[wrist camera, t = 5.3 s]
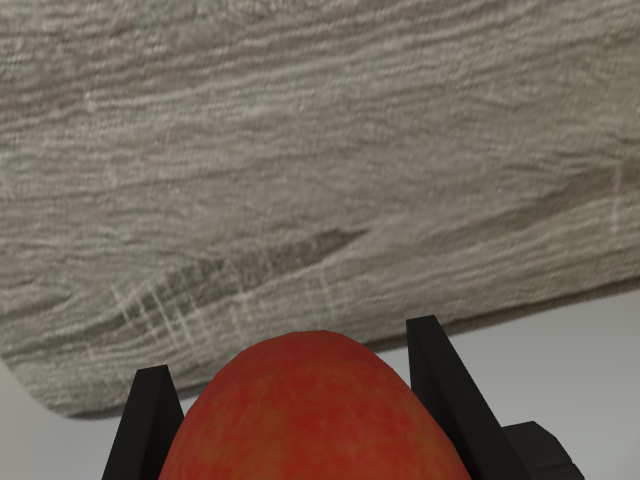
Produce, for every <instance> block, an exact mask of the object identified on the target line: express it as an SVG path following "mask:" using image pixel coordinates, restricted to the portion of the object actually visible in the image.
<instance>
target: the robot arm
mask: <svg viewBox="0 0 640 480" xmlns="http://www.w3.org/2000/svg"><path fill="white" fill-rule="evenodd" d="M406 328H407V341H408V354H409V366H410V380H411V390H412V391H413V393H414V394H415V395H416V397H417V398H418V399H419V400H420V402H421V403H422V404H423V406H424V407H425V408H426V409H427V411H428V412H429V413H430V415H431V416H432V417H433V418H434V420H435V421H436V422H437V424H438V425H439V426H440V427H441V429H442V430H443V431H444V433H445V434H446V435H447V436H448V438H449V439H450V440H451V442H452V443H453V444H454V446H455V448H456V450H457V452H458V454H459V456H460V458H461V460H462V462H463V464H464V466H465V468H466V469H467V471H468V473H469V475H470V477H471V479H472V480H585V479H584V476H583V475H582V473H581V472H580V470H579V469H578V468H577V466H576V465H575V464H573V463H572V460H571V458H570V456H569V455H568V454H567V452H566V451H565V449H564V448H563V447H562V445H561V444H560V442H559V441H558V440H557V438H556V437H555V436H553V435H552V434H551V433H549V432H548V431H547V430H545V429H544V428H543V427H541V426H540V425H538V424H537V423H536V422H534V421H530V422H525V423H521V424H515V425H510V426H505V427H501V426H500V424H499V423H498V421H497V420H496V418H495V416H494V414H493V413H492V411H491V409H490V408H489V406H488V404H487V403H486V401H485V399H484V398H483V396H482V394H481V393H480V391H479V389H478V388H477V386H476V384H475V383H474V381H473V379H472V378H471V376H470V374H469V373H468V371H467V369H466V368H465V366H464V364H463V363H462V361H461V359H460V357H459V356H458V354H457V352H456V351H455V349H454V347H453V346H452V344H451V343H450V341H449V339H448V337H447V336H446V334H445V332H444V331H443V329H442V327H441V326H440V324H439V322H438V321H437V319H436V317H435V316H434V315H429V316H424V317H419V318H413V319H408V320H406ZM184 418H185V417H184V414H183V411H182V408H181V405H180V402H179V399H178V396H177V393H176V390H175V387H174V384H173V381H172V378H171V375H170V372H169V369H168V366H167V364H166V365H161V366H155V367H150V368H145V369H139V370H137V372H136V375H135V378H134V381H133V384H132V387H131V390H130V393H129V397H128V400H127V403H126V406H125V409H124V412H123V415H122V418H121V421H120V424H119V428H118V431H117V434H116V437H115V440H114V443H113V446H112V449H111V452H110V455H109V459H108V461H107V465H106V467H105V470H104V474H103V477H102V480H158V479H159V476H160V473H161V471H162V468H163V466H164V463H165V460H166V458H167V455H168V453H169V450H170V447H171V445H172V442H173V440H174V438H175V436H176V434H177V432H178V430H179V428H180V426H181V424H182V422H183V420H184Z"/></svg>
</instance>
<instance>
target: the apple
mask: <svg viewBox="0 0 640 480" xmlns="http://www.w3.org/2000/svg"><path fill="white" fill-rule="evenodd" d="M158 480H472V479H471V477H470V475H469V473H468V471H467V469H466V468H465V466H464V464H463V462H462V460H461V458H460V456H459V454H458V452H457V450H456V448H455V446H454V444H453V443H452V442H451V440H450V439H449V438H448V436H447V435H446V434H445V433H444V431H443V430H442V429H441V427H440V426H439V425H438V424H437V422H436V421H435V420H434V418H433V417H432V416H431V415H430V413H429V412H428V411H427V409H426V408H425V407H424V406H423V404H422V403H421V402H420V400H419V399H418V398H417V397H416V395H415V394H414V393H413V391H412V390H411V389H410V388H409V386H408V385H407V384H406V383H405V382H404V381H403V380H402V379H401V377H399V375H398V374H397V373H396V372H395V371H394V370H393V369H392V368H391V367H390V366H389V365H387V364H386V363H385V362H384V361H383V360H381V359H380V358H379V357H378V356H377V355H375V354H374V353H373V352H372V351H371V350H369V349H368V348H367V347H366V346H364V345H362V344H360V343H358V342H356V341H354V340H352V339H350V338H349V337H347V336H345V335H343V334H339V333H335V332H330V331H326V330H320V331H304V332H292V333H288V334H285V335H282V336H278V337H275V338H272V339H268V340H265V341H262V342H259V343H257V344H255V345H253V346H251V347H249V348H247V349H245V350H244V351H242V352H240V353H239V354H238V355H237V356H236V357H235V358H234V359H233V360H231V361H230V362H229V363H228V364H227V365H226V366H225V367H224V368H222V369H221V370H220V371H219V372H218V373H217V374H216V375H215V377H214V378H213V379H212V381H211V382H210V383H209V384H208V386H207V387H206V388H205V390H204V391H203V392H202V393H201V395H200V396H199V397H198V399H197V400H196V401H195V402H194V404H193V405H192V406H191V408H190V409H189V410H188V412H187V414H186V416H185V418H184V420H183V422H182V424H181V426H180V428H179V430H178V432H177V434H176V436H175V438H174V440H173V442H172V445H171V447H170V450H169V453H168V455H167V458H166V460H165V463H164V466H163V468H162V471H161V473H160V476H159V479H158Z"/></svg>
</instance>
